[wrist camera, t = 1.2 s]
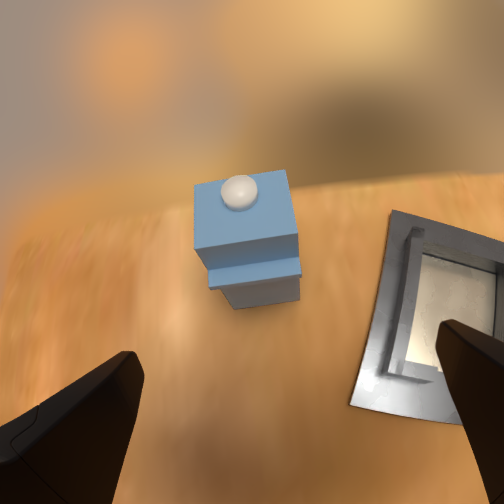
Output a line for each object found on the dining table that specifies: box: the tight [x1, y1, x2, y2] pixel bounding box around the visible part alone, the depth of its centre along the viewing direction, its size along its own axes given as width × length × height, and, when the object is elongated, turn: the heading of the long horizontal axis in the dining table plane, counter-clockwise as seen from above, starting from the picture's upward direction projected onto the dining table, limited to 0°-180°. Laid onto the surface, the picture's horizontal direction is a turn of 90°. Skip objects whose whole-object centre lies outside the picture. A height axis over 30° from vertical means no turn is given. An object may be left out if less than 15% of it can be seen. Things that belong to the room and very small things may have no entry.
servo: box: [194, 170, 302, 309], centre depth 20 cm, size 6×5×11 cm
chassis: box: [348, 209, 504, 425], centre depth 20 cm, size 16×13×3 cm
